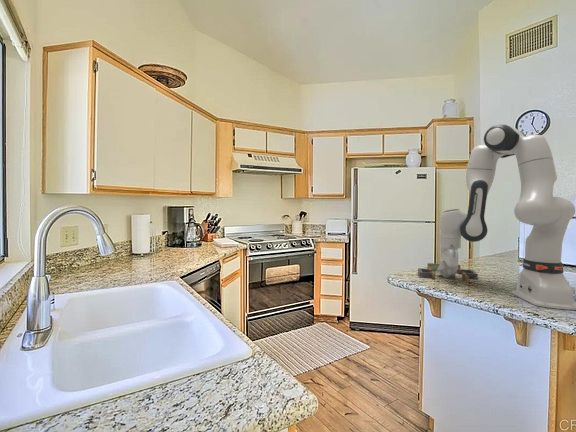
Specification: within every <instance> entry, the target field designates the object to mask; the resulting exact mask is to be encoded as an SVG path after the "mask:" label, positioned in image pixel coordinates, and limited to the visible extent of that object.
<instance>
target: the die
mask: <svg viewBox="0 0 576 432" xmlns="http://www.w3.org/2000/svg"><path fill="white" fill-rule="evenodd" d="M439 264H440V265H439V267H438V269H437V271H438V273H439V274H440V275H442V276H443V277H444V278H455V275H456V274H457V273H456V272H457V270H458V267H453V268H452V273H451V274H449V273H447V272H446V263H445V262H444V261H443V260H441V261H440V263H439Z"/></svg>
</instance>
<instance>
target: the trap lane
mask: <svg viewBox="0 0 576 432" xmlns="http://www.w3.org/2000/svg"><path fill="white" fill-rule="evenodd" d="M426 264H427V266H426V268H420V267H418V269H417V274H418V276H419V277H418V278H421V279H431V280H436V277H435V276H436V274H435V271H437V269H438V267H439V265H440V263H433V262H427V263H426ZM437 272H438V271H437ZM438 273H439V272H438ZM456 274H458V275H460V274H461V278H462V279H463V281H464V280H465V281H466V282H465V281H464V282H465V283H469V282H470V280H478V279H479V278H478V277H479V276H478V275H479V274H478V273H477V272H476V271H474V269H466V268H461V264H458V270H457V272H456Z"/></svg>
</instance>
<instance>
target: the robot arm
mask: <svg viewBox="0 0 576 432" xmlns="http://www.w3.org/2000/svg"><path fill="white" fill-rule="evenodd" d="M483 143H484V144H480V145H477V146H475V147H474V148H473V149H472V150H471V152H470V155H469V158H468V162H467V167H466V175H465V179H466V180H465V181H466V186H467V190H468V193H469V194H468V196H469V199H468V200H469V201H468V207H467V213H466V212H463V211H462V210H460V209H459V208H457V209H455V208H453V209H447V210H444V211H443V212H442V213H441V216H440V221H439V222H440V223H439V225H440V226H439V230H440V233H439V234H440V235H439V248H440V255H441V261H444V262H445V263H446V272H447V273H449V274H451V273H452V268H453V267H458V265H459V251H458V249H461V247H462V245H461V243H462V238H463V239H465V240H466V241H469V242H471V243H472V242H475V243H476V242H480V241H482V240H483V239H484V238H486V236H487V234H488V226H487V223H486V220H485V212H486V205H487V199H488V195H489V193H490V190H491V187H492V184H493V182H494V179H495V175H496V171H497V164H498V161H499V159H500V158H501V159H505V158H509V157H511V156H512V157H513V156H515V157H516V158H515V159H516V163H517V167H518V172H519V173H518V174H519V178H520V179H519V180H520V196H519V200H518V202H517V203H516V205H515V207H514V211H513V212H514V216H515V217H516V219H517V220H518V222H521V223H522V224H525V225H529V226H532V229H531V232H530V233H529V235H528V236H527V237H526V238H525V243H524V244H525V245H524V246H525V247H524V258H523V260H522V268H523V269H522V270H521V271H519V273H518V275H517V282H516V283H517V284H516V290H512V291H511V294H512V295H514V296H516V297H518V298H519V299H522V300H524V301H525V302H528V303H529V304H532V305H534V306H537V307H543V308H548V309H556V310H557V309H558V310H569V311H570V310H572V311H574V310H575V311H576V300H575V299H574V294H575V293H576V287H574V286H571V285H570V283H569V281H568V280H567V278H566V277H565V275H564V272H565V271H564V266H563V262H562V252H563V251H562V250H563V242H564V237H565V234H566V232H567V229H568V226H569V223H570V222H571V220H572V219H573V217H574V216H575V214H576V207H575V205H574V204H573V203H572V202H571V201H570V200H568V199H566V198H563V197H560V196H554V195H553V193H554V187H555V186H554V185H555V183H556V181H557V180H558V179H557V178H558V174H557V171H556V166H555V162H554V158H553V153H552V151H551V150H552V149H551V148H550V145H549V143H548V141H547V139H546V137H545V136H543V135H542V134H530V135H526V133H524V132H522V131H521V130H519V129H518V128H515V127H514V126H510V125H507V124H497V125H496V124H494V125H493V126H491V127H489V128H488V129H487V130H486V132H485V133H484V136H483Z"/></svg>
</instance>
